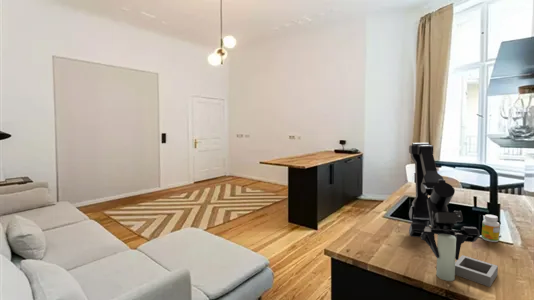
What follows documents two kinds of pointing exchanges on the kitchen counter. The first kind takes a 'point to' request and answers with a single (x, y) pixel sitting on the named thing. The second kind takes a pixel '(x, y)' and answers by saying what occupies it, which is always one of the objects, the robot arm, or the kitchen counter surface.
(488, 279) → the socket collar
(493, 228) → the supplement bottle
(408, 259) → the kitchen counter surface
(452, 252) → the sage peg
